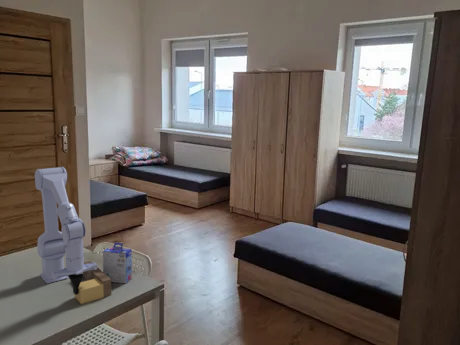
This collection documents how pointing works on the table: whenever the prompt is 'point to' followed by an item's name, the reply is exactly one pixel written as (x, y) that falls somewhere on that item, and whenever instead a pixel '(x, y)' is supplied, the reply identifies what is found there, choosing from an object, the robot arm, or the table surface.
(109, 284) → the walnut block
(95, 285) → the ochre block
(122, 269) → the ink cartridge box
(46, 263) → the robot arm
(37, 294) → the table surface
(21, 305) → the table surface
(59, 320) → the table surface
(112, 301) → the table surface
